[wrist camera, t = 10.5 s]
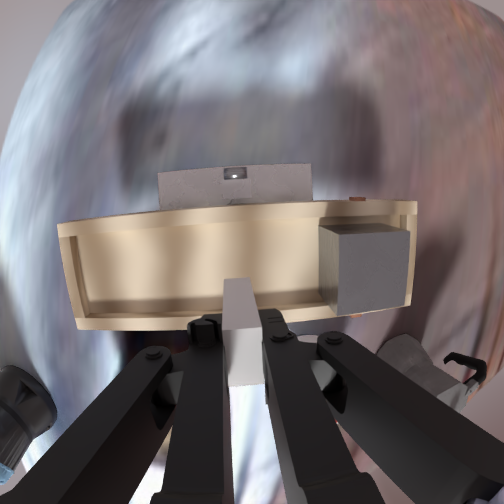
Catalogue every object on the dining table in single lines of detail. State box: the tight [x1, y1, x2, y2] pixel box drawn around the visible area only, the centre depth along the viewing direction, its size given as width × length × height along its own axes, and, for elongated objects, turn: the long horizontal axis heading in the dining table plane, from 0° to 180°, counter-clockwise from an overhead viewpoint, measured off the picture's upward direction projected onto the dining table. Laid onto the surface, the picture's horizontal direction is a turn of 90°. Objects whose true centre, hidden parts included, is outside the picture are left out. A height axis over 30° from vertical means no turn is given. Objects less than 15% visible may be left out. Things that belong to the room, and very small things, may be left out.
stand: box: [157, 163, 313, 210], centre depth 30 cm, size 18×18×11 cm
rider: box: [318, 223, 411, 316], centre depth 22 cm, size 6×6×5 cm
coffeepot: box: [376, 334, 487, 413], centre depth 32 cm, size 15×9×18 cm, turn 126°
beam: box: [57, 197, 417, 330], centre depth 25 cm, size 32×11×4 cm, turn 93°
